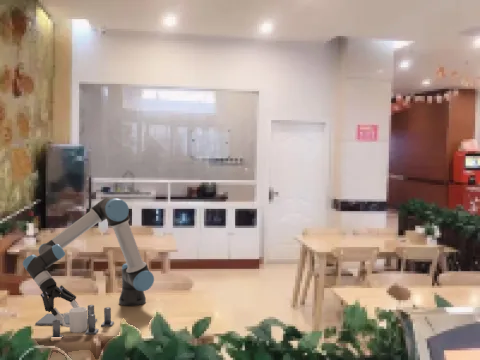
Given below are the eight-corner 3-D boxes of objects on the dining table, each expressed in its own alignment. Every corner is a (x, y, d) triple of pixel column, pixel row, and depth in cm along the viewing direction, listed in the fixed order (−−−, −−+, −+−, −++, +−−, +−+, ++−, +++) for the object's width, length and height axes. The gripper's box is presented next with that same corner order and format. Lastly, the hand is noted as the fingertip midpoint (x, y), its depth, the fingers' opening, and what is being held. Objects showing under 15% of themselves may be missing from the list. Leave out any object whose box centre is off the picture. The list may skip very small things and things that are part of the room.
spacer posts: (115, 320, 263) (115, 304, 263) (100, 341, 234) (100, 322, 233) (70, 320, 263) (70, 304, 263) (49, 340, 234) (48, 322, 234)
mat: (84, 315, 272) (84, 313, 272) (75, 325, 256) (75, 323, 256) (47, 315, 272) (47, 313, 272) (35, 325, 256) (35, 323, 256)
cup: (85, 332, 245) (85, 311, 245) (59, 333, 244) (59, 312, 243) (88, 327, 253) (88, 306, 253) (64, 327, 252) (63, 307, 252)
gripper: (58, 281, 265) (82, 313, 261) (22, 293, 242) (48, 328, 238) (66, 272, 263) (91, 304, 259) (31, 283, 240) (57, 318, 235)
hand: (70, 315), depth 248 cm, fingers open, 13 cm apart
